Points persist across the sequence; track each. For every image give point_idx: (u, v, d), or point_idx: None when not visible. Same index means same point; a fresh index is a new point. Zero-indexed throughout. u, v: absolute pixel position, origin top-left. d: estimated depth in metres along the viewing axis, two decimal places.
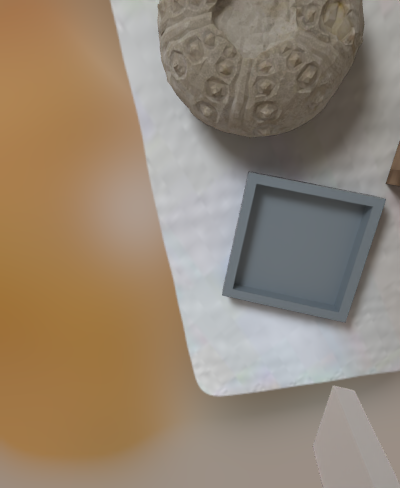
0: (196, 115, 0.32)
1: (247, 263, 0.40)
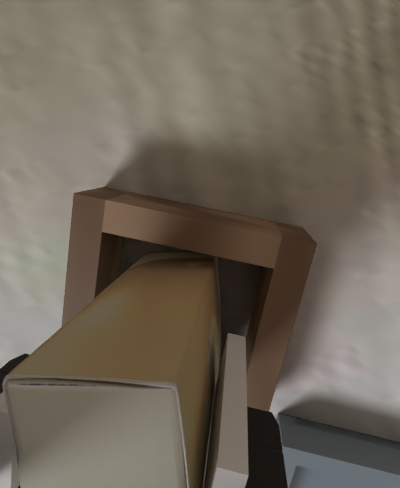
0: None
1: None
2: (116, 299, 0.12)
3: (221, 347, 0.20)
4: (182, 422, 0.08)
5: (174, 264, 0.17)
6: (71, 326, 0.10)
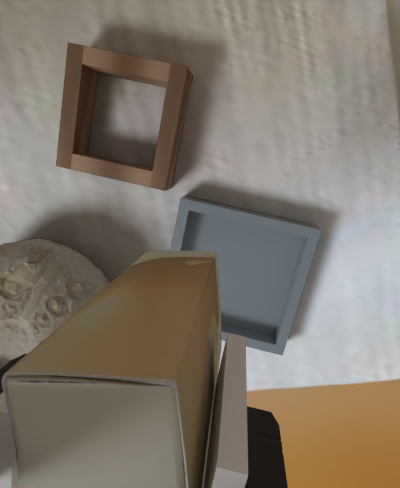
0: None
1: (252, 320, 0.38)
2: (116, 297, 0.12)
3: None
4: (181, 420, 0.08)
5: (174, 263, 0.17)
6: (70, 324, 0.10)
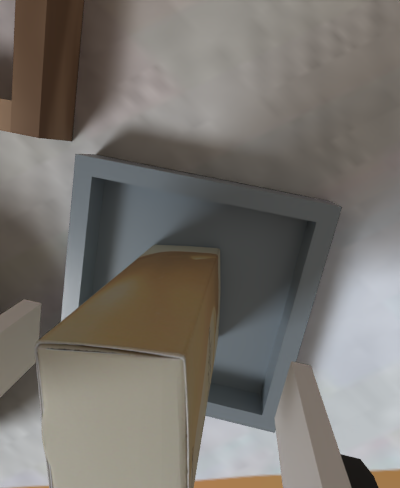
0: None
1: (222, 368, 0.22)
2: (128, 284, 0.14)
3: None
4: (187, 388, 0.09)
5: (180, 257, 0.18)
6: (89, 304, 0.12)
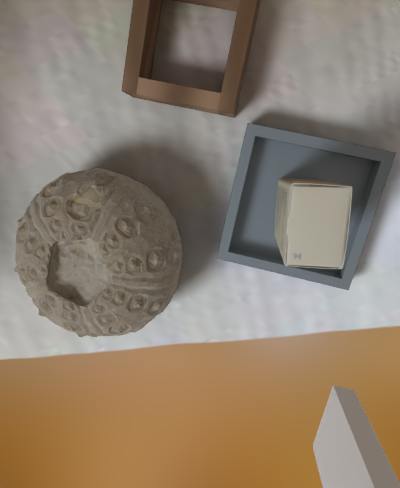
0: (161, 310, 0.36)
1: None
2: None
3: None
4: (351, 200, 0.24)
5: None
6: None
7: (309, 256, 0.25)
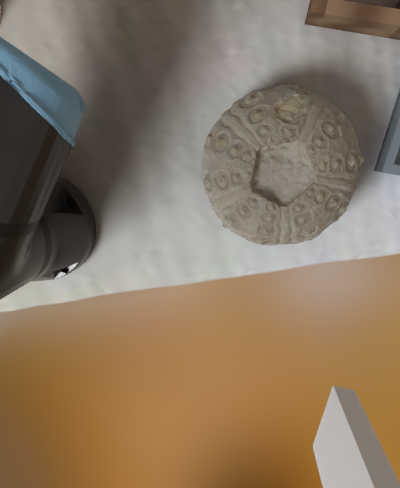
0: (339, 217, 0.39)
1: None
2: None
3: None
4: None
5: None
6: None
7: None
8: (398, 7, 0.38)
